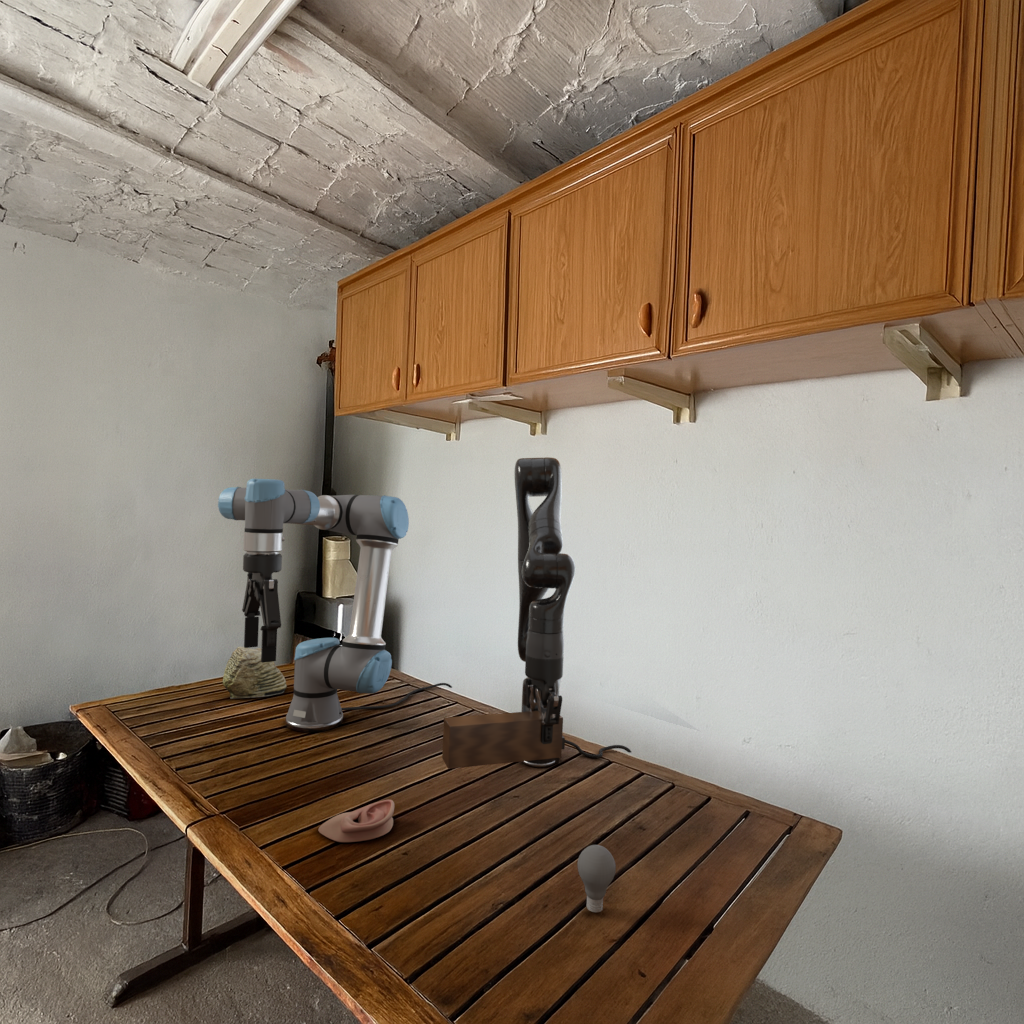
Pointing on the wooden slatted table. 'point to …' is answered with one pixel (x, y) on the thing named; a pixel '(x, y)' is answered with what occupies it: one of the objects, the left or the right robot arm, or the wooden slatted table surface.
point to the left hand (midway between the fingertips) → (259, 654)
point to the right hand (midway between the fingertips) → (540, 737)
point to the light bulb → (596, 874)
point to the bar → (497, 739)
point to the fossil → (252, 675)
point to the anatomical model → (360, 823)
